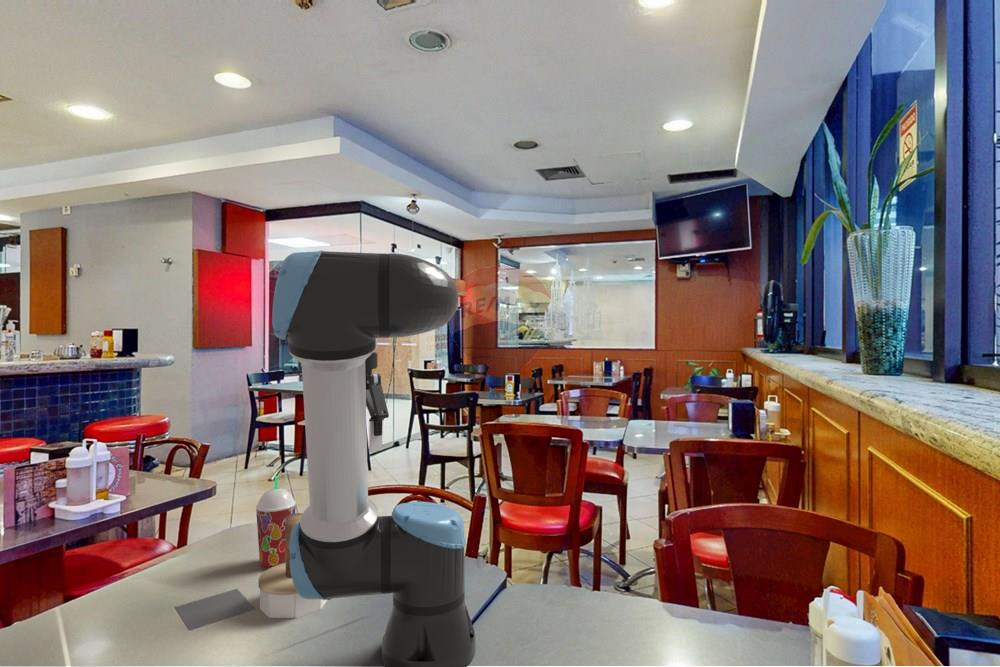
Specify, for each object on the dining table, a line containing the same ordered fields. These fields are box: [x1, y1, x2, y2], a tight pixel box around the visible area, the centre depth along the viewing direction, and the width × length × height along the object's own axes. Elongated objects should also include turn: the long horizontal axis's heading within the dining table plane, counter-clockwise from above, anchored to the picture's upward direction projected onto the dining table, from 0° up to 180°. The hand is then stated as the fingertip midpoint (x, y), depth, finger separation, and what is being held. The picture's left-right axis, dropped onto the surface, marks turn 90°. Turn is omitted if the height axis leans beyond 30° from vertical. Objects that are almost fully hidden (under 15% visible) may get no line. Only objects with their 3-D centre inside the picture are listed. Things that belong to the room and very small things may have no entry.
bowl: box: [259, 589, 328, 619], centre depth 104 cm, size 12×12×5 cm
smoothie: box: [255, 475, 297, 569], centre depth 122 cm, size 8×8×20 cm
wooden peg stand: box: [258, 512, 303, 595], centre depth 104 cm, size 13×13×12 cm
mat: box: [174, 588, 256, 631], centre depth 102 cm, size 11×11×1 cm
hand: (360, 446), depth 122 cm, fingers open, 13 cm apart
